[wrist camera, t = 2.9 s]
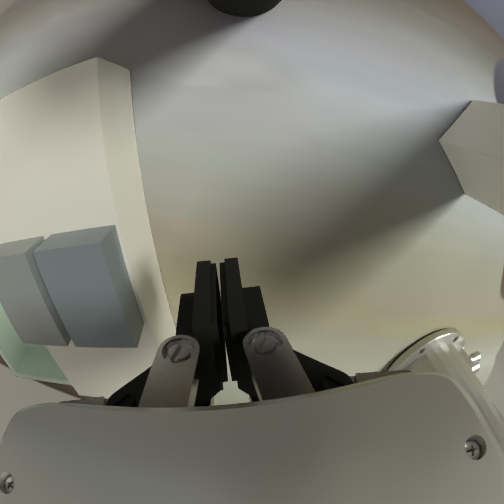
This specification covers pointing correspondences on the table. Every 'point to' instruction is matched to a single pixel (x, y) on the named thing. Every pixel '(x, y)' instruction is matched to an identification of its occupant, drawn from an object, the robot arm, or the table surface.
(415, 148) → the table surface
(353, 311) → the table surface
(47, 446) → the robot arm
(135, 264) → the cream rectangular block
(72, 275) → the slate tile
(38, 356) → the box
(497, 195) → the milk
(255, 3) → the drinking cup
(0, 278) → the slate tile
